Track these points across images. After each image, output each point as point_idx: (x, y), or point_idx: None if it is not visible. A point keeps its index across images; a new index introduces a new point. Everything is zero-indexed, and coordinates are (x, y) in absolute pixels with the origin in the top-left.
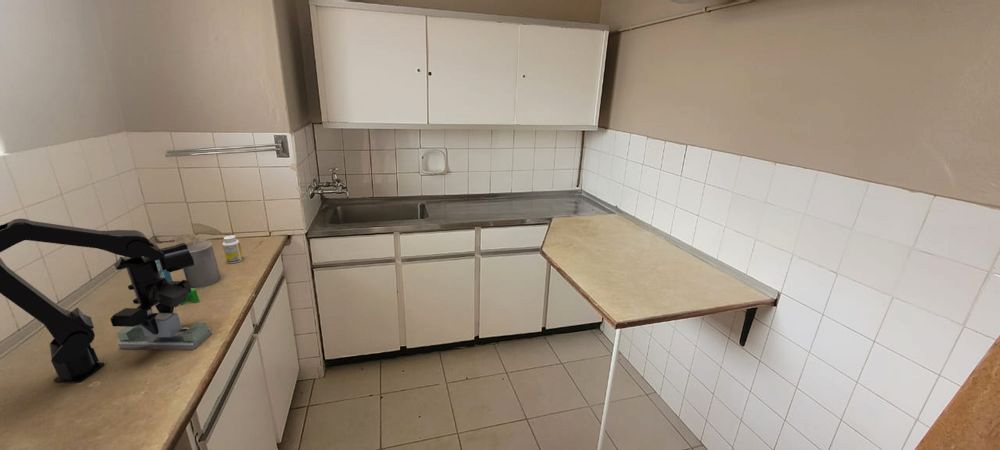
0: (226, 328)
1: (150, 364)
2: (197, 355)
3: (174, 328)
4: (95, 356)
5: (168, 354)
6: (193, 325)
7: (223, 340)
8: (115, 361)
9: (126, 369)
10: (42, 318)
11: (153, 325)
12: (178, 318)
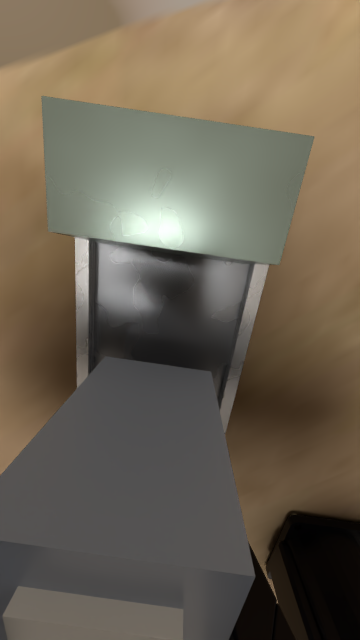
0: (30, 102)
1: (343, 364)
2: (338, 137)
3: (159, 390)
4: (298, 581)
5: (276, 327)
6: (120, 230)
7: (182, 21)
8: (274, 493)
9: (348, 435)
10: None
11: (274, 615)
12: (49, 431)
